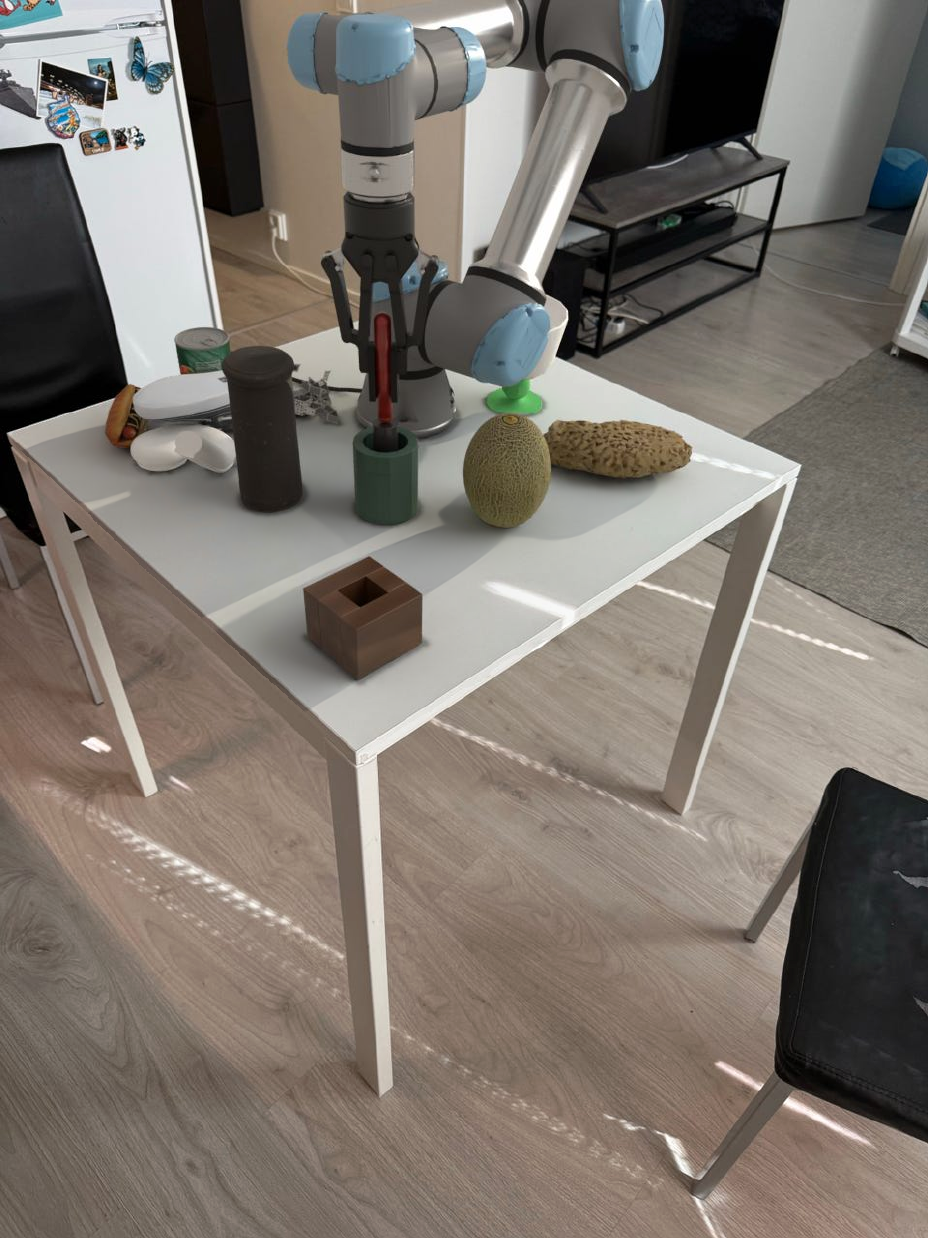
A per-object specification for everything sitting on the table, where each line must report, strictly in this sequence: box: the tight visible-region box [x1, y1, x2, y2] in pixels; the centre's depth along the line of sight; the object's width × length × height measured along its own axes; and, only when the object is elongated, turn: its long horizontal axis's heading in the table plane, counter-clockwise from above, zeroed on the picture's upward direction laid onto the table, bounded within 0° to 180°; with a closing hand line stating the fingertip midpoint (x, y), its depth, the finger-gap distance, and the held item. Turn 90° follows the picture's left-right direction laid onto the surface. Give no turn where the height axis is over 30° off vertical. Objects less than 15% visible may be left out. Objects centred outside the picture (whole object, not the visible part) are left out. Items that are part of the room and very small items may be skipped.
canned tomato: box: [173, 326, 232, 375], centre depth 137 cm, size 8×8×11 cm
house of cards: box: [292, 363, 340, 425], centre depth 137 cm, size 9×9×8 cm
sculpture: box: [130, 423, 236, 474], centre depth 125 cm, size 12×15×8 cm
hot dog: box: [104, 383, 150, 449], centre depth 131 cm, size 5×13×5 cm
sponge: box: [543, 419, 693, 479], centre depth 129 cm, size 13×8×20 cm
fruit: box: [462, 412, 552, 529], centre depth 115 cm, size 11×11×15 cm
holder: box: [302, 555, 424, 681], centre depth 98 cm, size 9×9×7 cm
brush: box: [372, 312, 399, 453], centre depth 111 cm, size 3×3×21 cm
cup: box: [486, 294, 569, 414], centre depth 140 cm, size 14×14×16 cm
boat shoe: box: [133, 370, 233, 432], centre depth 132 cm, size 24×9×8 cm, turn 136°
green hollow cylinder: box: [352, 427, 419, 526], centre depth 118 cm, size 8×8×10 cm
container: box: [222, 345, 303, 513], centre depth 115 cm, size 9×9×20 cm
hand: (384, 396), depth 111 cm, fingers closed on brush, 2 cm apart
